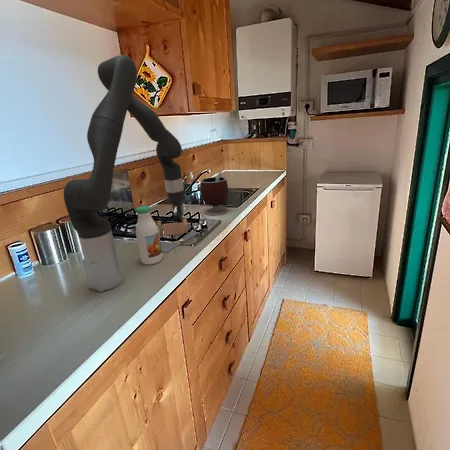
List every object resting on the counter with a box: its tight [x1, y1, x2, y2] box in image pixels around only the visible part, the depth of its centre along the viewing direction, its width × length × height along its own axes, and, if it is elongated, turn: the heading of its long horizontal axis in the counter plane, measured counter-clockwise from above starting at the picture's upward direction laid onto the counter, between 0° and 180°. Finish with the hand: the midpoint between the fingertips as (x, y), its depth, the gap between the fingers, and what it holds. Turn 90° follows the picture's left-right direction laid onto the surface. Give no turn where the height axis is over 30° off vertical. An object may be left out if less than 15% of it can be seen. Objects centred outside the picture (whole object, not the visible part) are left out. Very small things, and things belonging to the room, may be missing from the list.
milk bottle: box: [135, 205, 164, 265], centre depth 105 cm, size 8×8×20 cm
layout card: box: [160, 228, 202, 254], centre depth 126 cm, size 22×16×1 cm
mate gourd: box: [200, 170, 229, 217], centre depth 153 cm, size 16×14×20 cm
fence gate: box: [162, 217, 189, 236], centre depth 128 cm, size 10×2×6 cm, turn 98°
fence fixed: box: [156, 220, 163, 237], centre depth 123 cm, size 12×2×7 cm, turn 148°
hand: (180, 227), depth 132 cm, fingers closed
